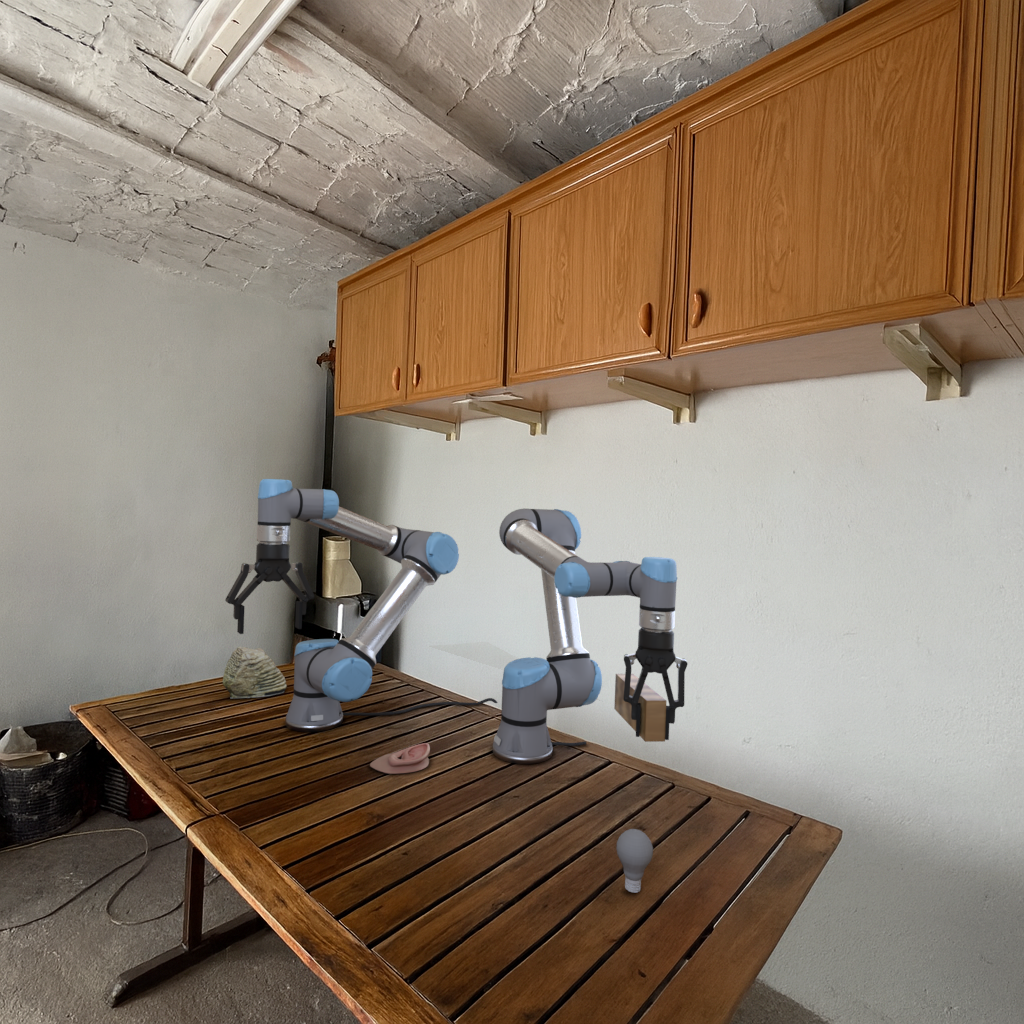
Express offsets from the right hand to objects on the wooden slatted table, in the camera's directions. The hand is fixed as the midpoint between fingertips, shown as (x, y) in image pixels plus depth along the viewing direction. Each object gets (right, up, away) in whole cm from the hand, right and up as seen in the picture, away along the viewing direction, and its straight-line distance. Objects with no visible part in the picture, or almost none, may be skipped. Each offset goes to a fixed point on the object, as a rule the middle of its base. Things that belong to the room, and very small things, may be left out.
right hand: (651, 735), depth 137 cm
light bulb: (-10, -15, -31) cm, 36 cm away
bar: (-1, -1, +9) cm, 10 cm away
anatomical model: (-57, -12, +14) cm, 60 cm away
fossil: (-111, -9, +61) cm, 127 cm away
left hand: (-89, +20, +16) cm, 92 cm away
